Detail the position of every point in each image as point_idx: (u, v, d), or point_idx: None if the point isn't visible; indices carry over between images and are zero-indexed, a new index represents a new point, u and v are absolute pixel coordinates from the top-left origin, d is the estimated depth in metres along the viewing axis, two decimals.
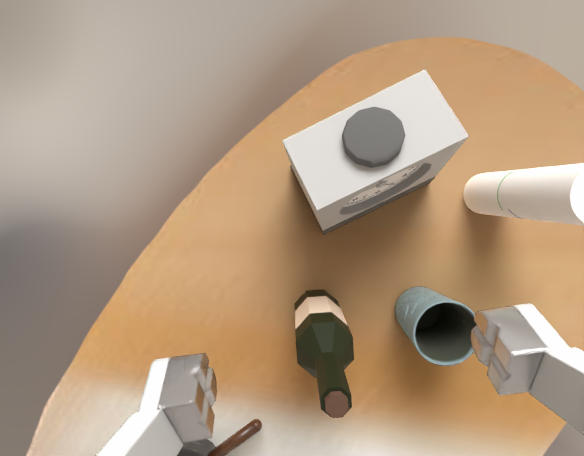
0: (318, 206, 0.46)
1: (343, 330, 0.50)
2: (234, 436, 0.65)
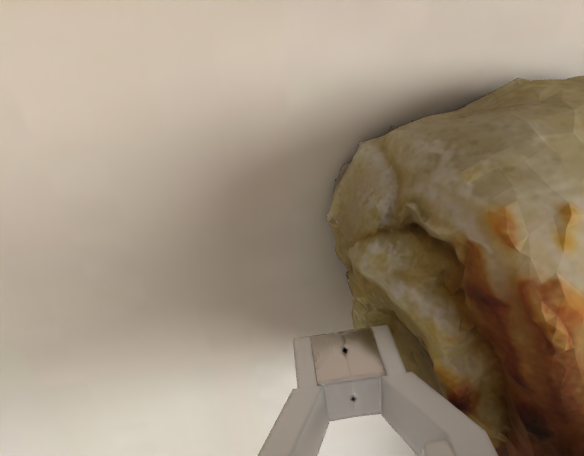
0: None
1: None
2: None
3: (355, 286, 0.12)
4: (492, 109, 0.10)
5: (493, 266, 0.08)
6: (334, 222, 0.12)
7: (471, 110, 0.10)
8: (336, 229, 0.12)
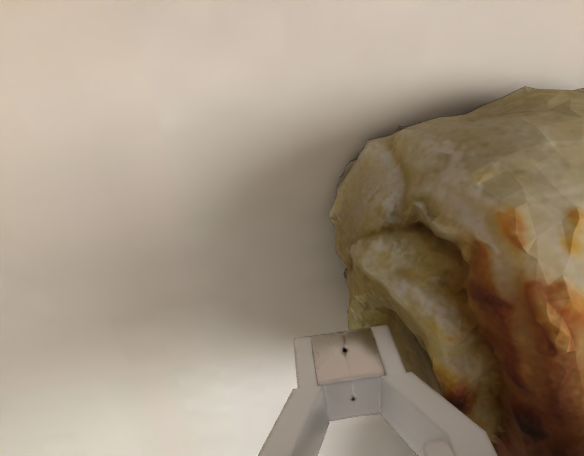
0: None
1: None
2: None
3: (354, 284, 0.12)
4: (501, 114, 0.10)
5: (499, 266, 0.08)
6: (336, 219, 0.12)
7: (480, 114, 0.10)
8: (338, 226, 0.12)
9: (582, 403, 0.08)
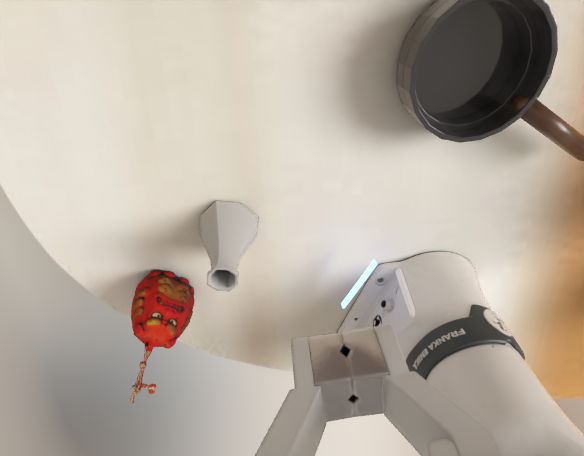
0: None
1: None
2: (570, 126, 0.37)
3: None
4: None
5: None
6: None
7: None
8: None
9: None
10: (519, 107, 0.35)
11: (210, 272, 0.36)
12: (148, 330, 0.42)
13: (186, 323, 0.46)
